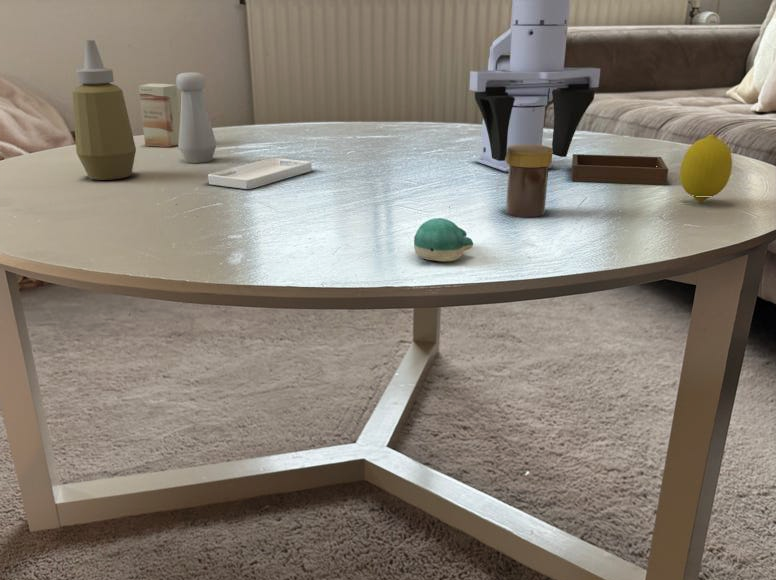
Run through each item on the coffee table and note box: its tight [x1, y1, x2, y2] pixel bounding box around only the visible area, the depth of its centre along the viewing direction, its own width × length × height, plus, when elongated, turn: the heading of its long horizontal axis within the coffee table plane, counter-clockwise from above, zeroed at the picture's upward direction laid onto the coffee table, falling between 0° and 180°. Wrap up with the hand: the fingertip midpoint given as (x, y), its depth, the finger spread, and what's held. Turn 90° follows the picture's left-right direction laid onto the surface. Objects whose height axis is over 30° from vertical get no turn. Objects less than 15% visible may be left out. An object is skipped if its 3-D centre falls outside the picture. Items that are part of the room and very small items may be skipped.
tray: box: [571, 153, 669, 186], centre depth 106 cm, size 12×9×2 cm
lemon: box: [679, 134, 733, 204], centre depth 90 cm, size 6×6×8 cm
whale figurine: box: [413, 217, 474, 262], centre depth 72 cm, size 6×7×4 cm
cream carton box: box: [138, 82, 180, 148], centre depth 132 cm, size 5×4×10 cm
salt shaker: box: [175, 71, 217, 164], centre depth 117 cm, size 6×6×13 cm
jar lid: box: [506, 145, 553, 168], centre depth 85 cm, size 5×5×2 cm
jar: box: [505, 165, 550, 218], centre depth 86 cm, size 4×4×7 cm
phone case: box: [207, 157, 313, 190], centre depth 107 cm, size 7×1×15 cm
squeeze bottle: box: [72, 39, 137, 181], centre depth 105 cm, size 8×8×18 cm
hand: (529, 157), depth 85 cm, fingers open, 7 cm apart
